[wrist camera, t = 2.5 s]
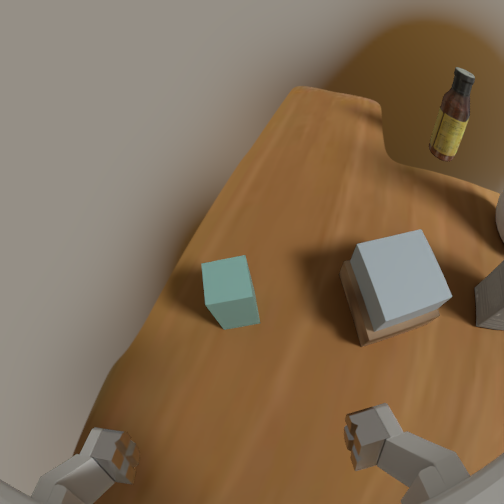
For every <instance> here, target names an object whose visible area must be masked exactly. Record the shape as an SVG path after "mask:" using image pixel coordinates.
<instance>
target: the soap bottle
mask: <svg viewBox="0 0 504 504" xmlns="http://www.w3.org/2000/svg"><path fill="white" fill-rule="evenodd" d="M496 224H497V228H498V232H499V234H500V237H501V239H502V241H503V242H504V190H503V191H502V192H501V194H500V196H499V199H498V203H497V207H496Z"/></svg>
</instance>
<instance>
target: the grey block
mask: <svg viewBox="0 0 504 504" xmlns="http://www.w3.org/2000/svg"><path fill="white" fill-rule="evenodd" d="M350 263H351V266H352V268H353V271H354V274H355V277H356V279H357V282H358V285H359V288H360V291H361V293H362V296H363V299H364V302H365V305H366V308H367V311H368V314H369V317H370V320H371V323H372V327H373V330H374V332H375V331H378V330H381V329H384V328H387V327H390V326H393V325H396V324H399V323H402V322H405V321H407V320H410V319H413V318H415V317H418V316H421V315H423V314H426V313H428V312H431V311H434V310H436V309H438V308H439V307H440V306H441V305H443V304H444V303H445V302H446V301H448V300H449V299H450V298H451V297H452V295H451V292H450V290H449V287H448V285H447V282H446V280H445V278H444V275H443V273H442V271H441V269H440V266H439V264H438V262H437V260H436V258H435V256H434V254H433V252H432V250H431V247H430V245H429V243H428V241H427V239H426V238H425V236H424V234H423V232H422V230H421V229H420V230H416V231H412V232H407V233H403V234H399V235H394V236H390V237H386V238H381V239H377V240H373V241H368V242H364V243H359V244H357V245H356V248H355V250H354V253H353V255H352V258H351V260H350Z"/></svg>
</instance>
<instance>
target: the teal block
mask: <svg viewBox="0 0 504 504" xmlns="http://www.w3.org/2000/svg"><path fill="white" fill-rule="evenodd" d="M202 275H203V286H204V296H205V305H206V307H207V308H208V309H209V311H210V312H211V313H212V315H213V316H214V317H215V318H216V320H217V321H218V322H219V324H220V325H221V326H222V328H223V329H224V330H225V329H231V328H237V327H242V326H248V325H253V324H259V323H260V319H259V314H258V308H257V303H256V297H255V292H254V288H253V284H252V280H251V276H250V272H249V268H248V264H247V260H246V256H245V255H243V256H238V257H233V258H228V259H223V260H218V261H213V262H208V263H203V264H202Z"/></svg>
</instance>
